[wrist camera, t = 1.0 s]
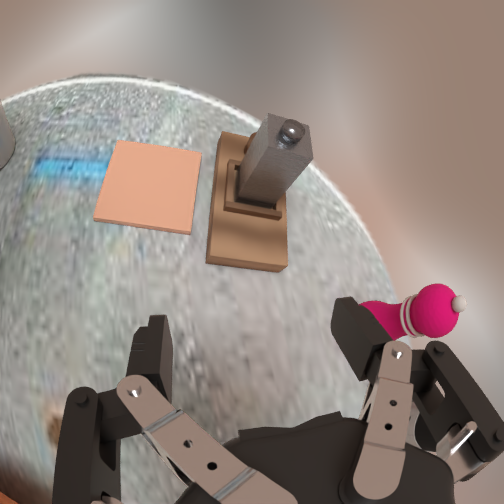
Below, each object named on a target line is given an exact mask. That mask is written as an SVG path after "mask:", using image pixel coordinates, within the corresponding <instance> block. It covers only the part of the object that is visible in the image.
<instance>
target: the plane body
mask: <svg viewBox="0 0 504 504" xmlns="http://www.w3.org/2000/svg"><path fill="white" fill-rule="evenodd" d="M256 133H257V132H256ZM256 133H253V134H252V135H251V136H250V137H246V136H241V135H237V134H233V133H228V132H224V131H222V134H221V136H220V139H219V141H218V145H217V153H216V161H215V170H214V178H213V188H212V197H211V207H210V217H209V228H208V239H207V251H206V263H208V264H215V265H223V266H231V267H239V268H246V269H254V270H262V271H270V272H280V271H281V270H283V269H284V268H286V267H287V266H288V251H287V218H286V192H285V193H284V194H283V195H282V196H281V198H280V199H279V200H278V201H277V202H276V203H275V205H274V206H273V207H272V208H271V209H267V208H262V207H256V206H251V205H246V204H241V203H235V202H234V190H235V174H236V171H237V169H238V167H239V165H240V163H241V162H242V160H243V158H244V156H245V154H246V152H247V150H248V148H249V146H250V144H251V143H252V141H253V139H254V137H255V135H256Z"/></svg>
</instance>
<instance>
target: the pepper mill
mask: <svg viewBox="0 0 504 504" xmlns="http://www.w3.org/2000/svg"><path fill="white" fill-rule="evenodd" d="M359 305H362V306H364V307H366V308H367V309H369V310H370V311H371V312H372V314H373V315H374V316H375V318H376V319H377V320H378V321H379V323H380V324H381V325H382V326H383V327H384V329H385V330H386V331H387V333H388V334H389V335H390V336H391V338H392V339H393V340H394V341H395V340H396V339H398V338H400V337H402V336H405V335H409V336H410V337H413V338H416V337H419V336H421V337H422V336H424V335H426V336H428V337H430V338H438V337H442V336H444V335H446V334H448V333H449V332H450V331H452V329H453V328H454V327H455V325H456V323H457V320H458V316H459V313H460V312H462V311H464V310H465V308H466V306H467V301H466V299H465V298H464V297H463V296H456V295H455V294H454V292H453V291H452V290H451V289H450V288H449V287H448V286H446V285H443V284H431V285H429V286H426V287H424V288H423V289H422V290H421V291H420V292H419V294H415V295H413V296H409V297H407V298H406V299H405V300H404V301H403V303H400V304H387V303H384V302H381V301H367V302H363V303H361V304H359Z"/></svg>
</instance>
